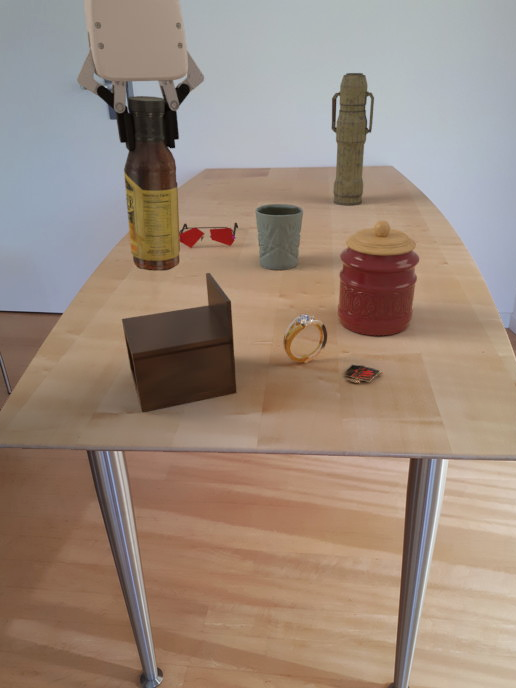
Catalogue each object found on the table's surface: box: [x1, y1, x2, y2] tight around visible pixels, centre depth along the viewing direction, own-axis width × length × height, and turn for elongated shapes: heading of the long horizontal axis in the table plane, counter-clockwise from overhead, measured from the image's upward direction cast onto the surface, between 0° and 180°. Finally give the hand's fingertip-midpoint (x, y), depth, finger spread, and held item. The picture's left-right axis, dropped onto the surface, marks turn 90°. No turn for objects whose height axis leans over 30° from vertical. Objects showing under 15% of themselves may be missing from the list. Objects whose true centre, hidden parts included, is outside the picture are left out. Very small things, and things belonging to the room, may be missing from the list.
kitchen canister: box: [337, 220, 420, 337], centre depth 92 cm, size 13×13×18 cm
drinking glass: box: [255, 203, 304, 271], centre depth 119 cm, size 10×10×12 cm
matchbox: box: [344, 364, 383, 384], centre depth 80 cm, size 5×5×1 cm
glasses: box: [179, 222, 239, 249], centre depth 137 cm, size 14×16×5 cm
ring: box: [282, 312, 328, 364], centre depth 82 cm, size 7×3×8 cm, turn 111°
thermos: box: [331, 72, 375, 206], centre depth 160 cm, size 9×12×35 cm
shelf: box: [121, 272, 237, 413], centre depth 76 cm, size 13×11×14 cm
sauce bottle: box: [123, 95, 181, 272], centre depth 67 cm, size 6×6×20 cm
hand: (150, 146), depth 65 cm, fingers closed on sauce bottle, 4 cm apart
